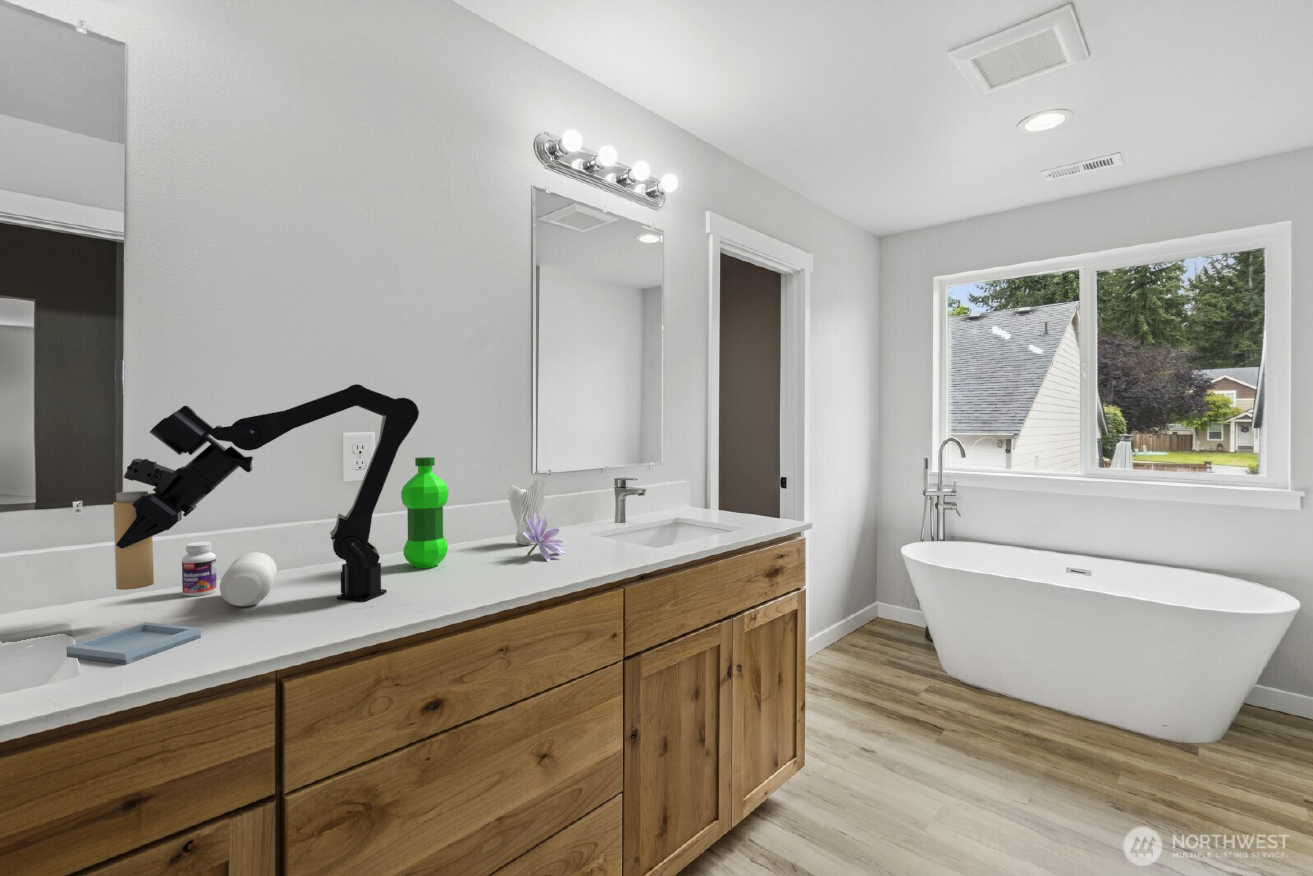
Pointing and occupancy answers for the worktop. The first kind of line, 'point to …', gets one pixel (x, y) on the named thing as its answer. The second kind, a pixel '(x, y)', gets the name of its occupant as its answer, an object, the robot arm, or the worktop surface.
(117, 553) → the cylinder
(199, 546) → the pill bottle
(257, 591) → the pill bottle
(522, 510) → the shell sculpture
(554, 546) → the water lily
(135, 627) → the tray
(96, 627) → the worktop surface
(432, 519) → the plastic bottle
